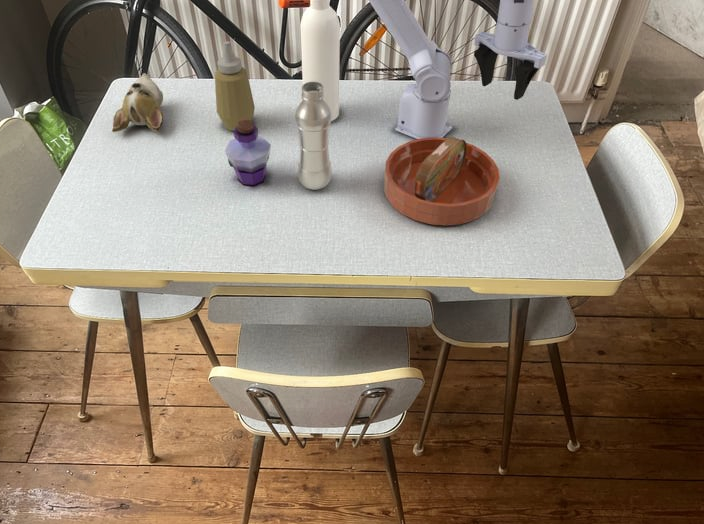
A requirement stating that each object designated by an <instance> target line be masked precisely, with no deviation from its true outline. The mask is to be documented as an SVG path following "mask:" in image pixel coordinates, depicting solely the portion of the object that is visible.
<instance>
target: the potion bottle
mask: <svg viewBox="0 0 704 524" xmlns="http://www.w3.org/2000/svg"><path fill="white" fill-rule="evenodd" d="M258 129H259V128H258V127H257V126H256V125H254V122H253V120H252V121H250V120H246V119H245V120H241V121H239V122H238V123H237V126H236V128H235V130H234V131H233V139H230V140H229V141H228V144H227V145H226V147H225V149H224V153H225V155H226V158H227V162H228V165H229V167H231V168H232V169H233V170H234V172H235V175H236V177H237V181H238V182H239V183H240V184H241V185H242V186H244V187H256V186H259V185H261V184H263V183H264V182H265V179H266V177H267V175H266V171H267V167H268V166H267V165H268V162H269V159H270V153H271V147H272V144H271V143H270V142H269V141H267V139H265V137H263V136H262V135H259V130H258Z"/></svg>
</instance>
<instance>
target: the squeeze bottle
mask: <svg viewBox="0 0 704 524" xmlns="http://www.w3.org/2000/svg"><path fill="white" fill-rule="evenodd" d="M222 47H223V48H222V56H221V57H219V58H218V59H217V70H216V71H215V73H214V85H215V86H214V87H215V105H216V107H215V108H216V114H217V115H218V117H219V119H220V121H221V123H222V124H223V126H224V128H225V129H226V130H228V131H232V132H234V130H235V128H236V126H237V123H238V122H239V121H241V120H245V119H246V120H250V121H252V122H253V118H254V114H255V101H254V97H253V93H252V88H251V82H250V80H249V79H250V78H249V76H248V75H249V74H248V71H247V69H246V68H245V67H243V66H242V59H241V58H240V57H239V56H237V55H235V54H234V53H235V52H234V51H233V50H234V49H233V48H232V45H231V42H230V41H229V40H226V41H223V46H222Z"/></svg>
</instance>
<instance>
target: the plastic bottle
mask: <svg viewBox="0 0 704 524" xmlns="http://www.w3.org/2000/svg"><path fill="white" fill-rule="evenodd" d="M323 98H324V93H323V85H322V84H321V83H319V82H315V81H312V82H307V83H305V84H303V83H302V86H301V102H300V103H299V104H298V106H297V107H296V110H295V114H294V120H295V126H296V130H297V135H298V144H299V162H298V167H297V176H298V179H299V182H300V184H301V185H302V186H303V187H304V188H306V189H308V190H313V191H314V190H315V191H317V190H322V189H324V188H325V187H326V186H328V184H329V183H330V182H331V181H332V180H331V179H332V176H333V168H332V162H331V159H330V149H329V144H330V132H331V124H332V121H331V115H332V114H331V111H330V108H329V107H328V105H327V104H326V102H325V101H324V100H323Z"/></svg>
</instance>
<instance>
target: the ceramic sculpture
mask: <svg viewBox="0 0 704 524" xmlns="http://www.w3.org/2000/svg"><path fill="white" fill-rule="evenodd" d="M163 101H164V93H163V91H162V90H161V89H160V88H159V86H158V85H157V84H156V83H155V82H154V80H153V79H152V78H150V77H149V75H148V74H147V73H145V72H143V73H142V75H141V76H139V77H138V78H137V79H136V80H135V81H134V82H133V83H132V84H131V85H130V86H129V88H128V91H127V93H126V94H125V96H124V98H123V100H122V105H121V106H122V107H121V108H120V109H118V110H117V111H115V115H114V116H113V121H112V122H113V123H112V129H111V132H112V133H117V132H122V131H124V130H126V129H127V128H128V127H129V125H130V122H131V124H133V125H135V126H147V127H148V129H150V130H151V131H152V132H155V133H157V132H158V131H160V130H161V128H162V127H163V124H164V112H163V110H162V109H161V108H160V107H161V105H162V104H163Z"/></svg>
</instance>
